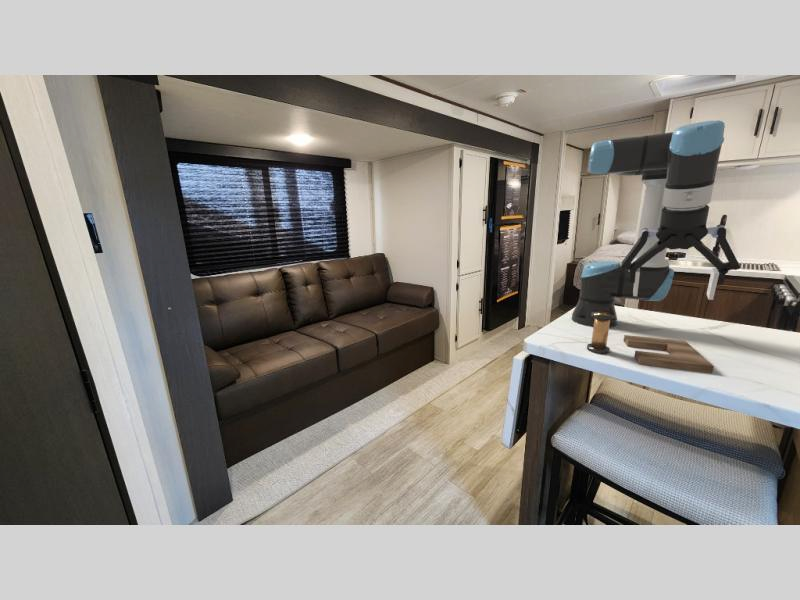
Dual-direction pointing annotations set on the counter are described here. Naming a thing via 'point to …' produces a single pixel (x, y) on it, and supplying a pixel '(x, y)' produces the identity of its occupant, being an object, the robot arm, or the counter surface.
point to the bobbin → (600, 332)
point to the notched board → (677, 358)
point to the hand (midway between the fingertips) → (670, 295)
